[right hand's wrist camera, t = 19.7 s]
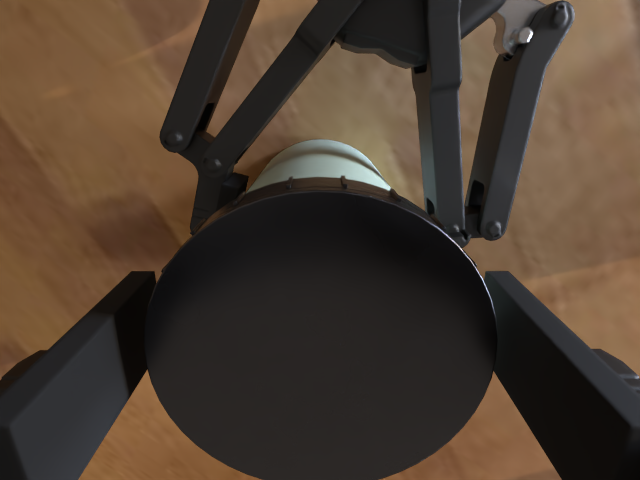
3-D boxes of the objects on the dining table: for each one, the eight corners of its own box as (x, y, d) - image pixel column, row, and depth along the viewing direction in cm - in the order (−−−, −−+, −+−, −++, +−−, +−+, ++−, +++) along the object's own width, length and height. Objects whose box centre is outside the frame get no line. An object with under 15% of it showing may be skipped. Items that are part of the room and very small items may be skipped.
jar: (341, 289, 27) (363, 492, 13) (230, 228, 26) (125, 387, 12) (413, 184, 25) (533, 301, 11) (295, 111, 23) (258, 136, 9)
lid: (136, 178, 11) (106, 192, 9) (498, 171, 11) (528, 184, 9) (186, 448, 14) (169, 491, 12) (461, 444, 14) (478, 487, 12)
